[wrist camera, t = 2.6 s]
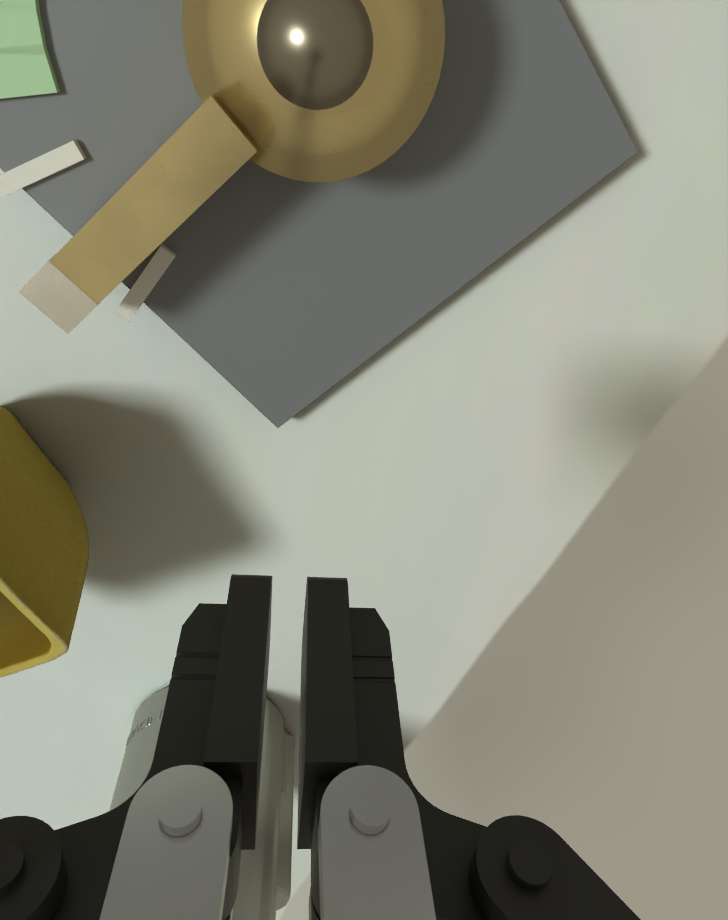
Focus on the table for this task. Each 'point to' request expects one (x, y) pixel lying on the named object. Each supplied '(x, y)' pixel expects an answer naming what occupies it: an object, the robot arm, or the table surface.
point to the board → (306, 203)
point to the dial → (260, 122)
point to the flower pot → (36, 553)
